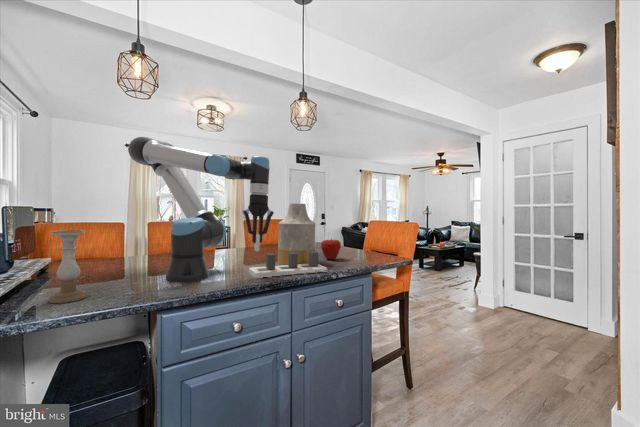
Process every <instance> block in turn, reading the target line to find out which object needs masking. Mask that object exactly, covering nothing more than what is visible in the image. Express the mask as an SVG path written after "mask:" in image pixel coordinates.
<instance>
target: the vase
mask: <svg viewBox="0 0 640 427" xmlns="http://www.w3.org/2000/svg"><path fill="white" fill-rule="evenodd" d="M277 230H278V231H277V232H278V234H277V235H278V238H277V240H278V241H277V243H278V244H277V246H278V247H277V266H281V265H288V253H291V252H295V253H298V264H309V252H312V251H316V223H315V222H314V221H313V220H311V218H310V217H309V215H308V212H307V206H306V203H299V202H298V203H289V205H288V209H287V213H286V215H285V217H284V218H283V219H282V220H280V221H279V222H278V229H277Z"/></svg>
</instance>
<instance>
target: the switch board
mask: <svg viewBox="0 0 640 427" xmlns="http://www.w3.org/2000/svg"><path fill="white" fill-rule="evenodd" d="M324 270H327V271H328V267H326V266H324V265H321V264H320V263H318V266H311V265H309V264H297V267H293V268H291V267H289V266H288V265H281V266H279V265H275V269H267V268H266V266H256V267H255V266H253V267H248V274H250V275H251V276H252V277H253V278H254V279H255V278H256V279H263V277H268V278H273V277H272V276H280V275H288V274H296V273H305V272H315V271H324ZM280 277H281V276H280Z"/></svg>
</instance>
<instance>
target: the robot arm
mask: <svg viewBox="0 0 640 427" xmlns="http://www.w3.org/2000/svg"><path fill="white" fill-rule="evenodd" d="M127 152H128V155H129V156H130V158H131V159H132V160H133V161H134V162H136V163H137V164H140V165H143V166H147V167H148V166H149V167H151V168H152V170H153V171H154V174H155V175H156V176H158V177H161V178H162V180H163V181H164V183H165V184H166V186H167V188H168V189H169V190H170V192H171V194H172V196H173V198H174V200H175V201H176V203H177V204H178V206H179V207H180V209H181V211H182V213H183V214H184V216H185V217H183V218H178V219H174V220H173V221H172V223H171V228H170V234H171V236H170V238H171V239H170V240H171V241H170V261H169V262H170V263H169V266H168V268H167V271H166V273H165V281H166V282H169V283H180V284H181V283H193V282H194V283H195V282H200V281H203V280H205V279H207V278H209V270H208V268H207V264H206V261H205V257H204V256H205V254H204V253H205V252H204V251H205V249H206V248H210V247H211V248H213V247H216V246H218V245H220V244H221V243H222V242H224V240H225V239H226V235H227V227H226V225H225V223H224V222H223V221H222V220H220V219H217V218H216V217H215V215H214V214H213V212H212V211H210V210H209V211H208V210H207V209H206V208H205V205H204V204H203V202H202V201H201V199H200V198H199V196H198V194H197V193H196V191H195V189H194V188H193V186H192V185H191V183H190V181H189V180H188V178H187V176H186V175H185V173H184V172H183V170H182V169H186V170H189V171H190V170H191V171H195V172H199V173H205V174H210V175H214V176H218V177H223V178H225V179H227V180H233V181H234V180H246V181H247V180H249V181H250V182H249V183H250V184H249V193H250V195H249V202H248V203H249V205H248V206H247V208H246V209H244V210H242V213H243V214H242V215H244V218H245V224H246V228H247V233H248V234H250V235H252V237H251V238H252V239H251V240H252V244H254V246H253V247H254V249H253V250H254V252H260V244H262V242H263V235H266V234H267V233H268V230H269V227H270V223H271V220H272V217H273V215H274V214H275V213H274V211H272V210H271V209H270V208H269V196H268V194H269V183H270V182H269V179H270V169H271V167H270V159H269V158H268V157H266V156H259V155H258V156H251V158H250V161H241V160H236V159H233V158H230V157H229V158H228V157H227V156H226V157H225V156H224V155H222V154H212V153H208V152H203V151H198V150H191V149H186V148H182V147H178V146H174V145H173V144H171V143H168V142H164V141H161V140H158V139H154V138H150V137H148V136H147V137H146V136H138V137H134V138H133V139H132V140H131V141H130V142H129V144H128V148H127ZM249 214H251V216H252V225H251V220H250V219H251V218H250V216H249ZM265 215H267V216H266V217H265V218H266V219H265V222H264V216H265ZM257 231H258V232H257Z"/></svg>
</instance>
